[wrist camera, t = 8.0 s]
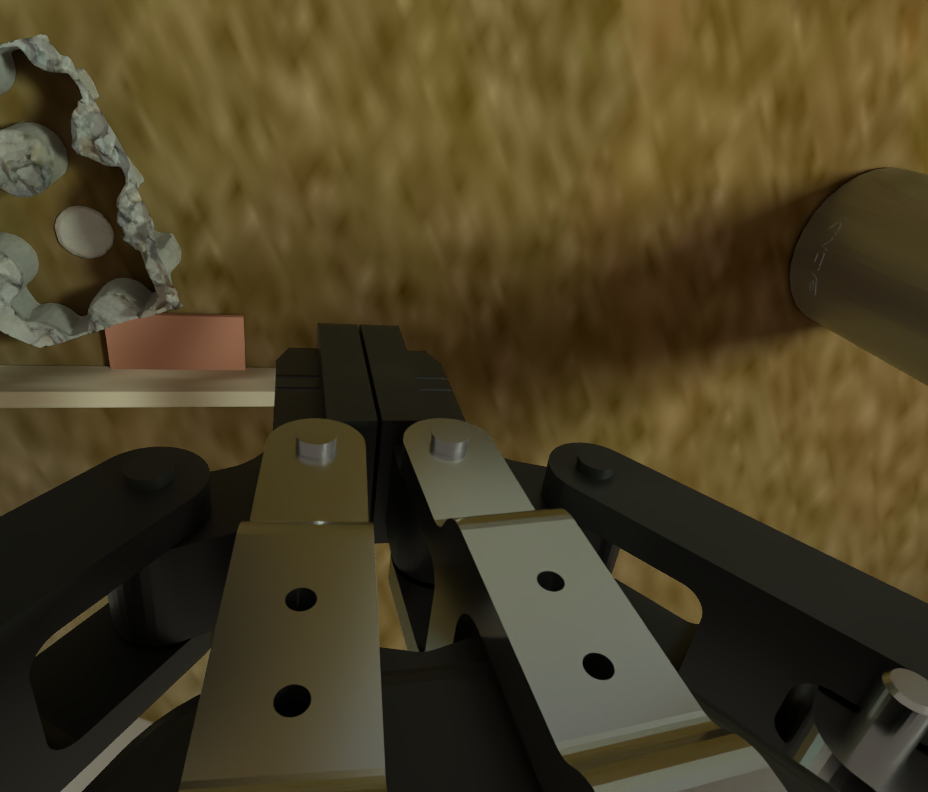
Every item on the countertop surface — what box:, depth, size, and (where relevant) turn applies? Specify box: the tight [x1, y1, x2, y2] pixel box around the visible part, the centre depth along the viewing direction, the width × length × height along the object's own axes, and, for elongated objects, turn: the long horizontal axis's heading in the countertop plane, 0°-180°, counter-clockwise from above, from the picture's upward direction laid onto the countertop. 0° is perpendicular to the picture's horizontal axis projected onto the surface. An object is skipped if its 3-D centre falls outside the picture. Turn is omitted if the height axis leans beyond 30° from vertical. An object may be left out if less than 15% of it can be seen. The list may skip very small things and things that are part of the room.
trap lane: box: [0, 313, 276, 408], centre depth 26 cm, size 22×22×3 cm
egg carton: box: [0, 34, 184, 348], centre depth 25 cm, size 11×8×4 cm
